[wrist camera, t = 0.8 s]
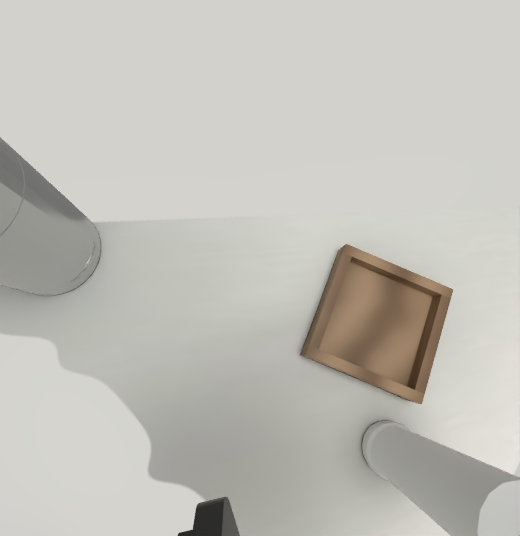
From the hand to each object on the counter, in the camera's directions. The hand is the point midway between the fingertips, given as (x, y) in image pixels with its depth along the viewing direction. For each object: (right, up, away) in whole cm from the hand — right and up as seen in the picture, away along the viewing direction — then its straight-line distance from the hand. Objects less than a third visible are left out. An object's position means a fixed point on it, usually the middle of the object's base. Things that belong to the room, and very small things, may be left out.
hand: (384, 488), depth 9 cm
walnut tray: (+9, 0, +28) cm, 30 cm away
